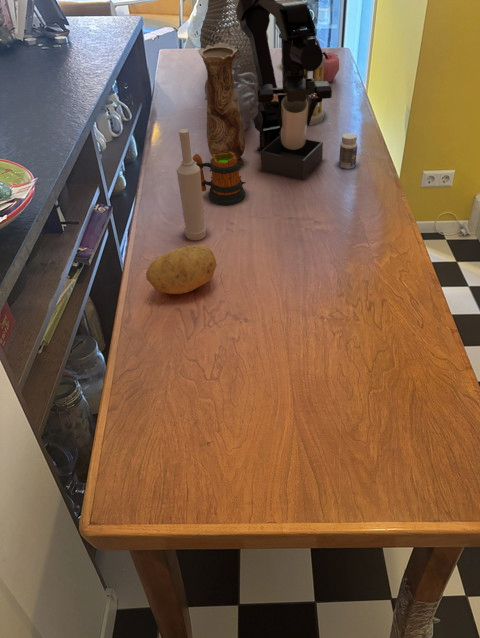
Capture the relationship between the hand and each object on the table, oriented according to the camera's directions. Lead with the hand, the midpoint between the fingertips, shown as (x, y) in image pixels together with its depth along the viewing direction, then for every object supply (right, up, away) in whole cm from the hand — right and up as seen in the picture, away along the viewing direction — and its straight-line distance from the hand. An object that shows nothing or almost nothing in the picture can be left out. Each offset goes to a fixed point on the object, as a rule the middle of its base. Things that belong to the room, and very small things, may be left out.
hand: (294, 126), depth 159 cm
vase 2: (-19, -6, +12) cm, 23 cm away
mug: (-19, -19, -1) cm, 27 cm away
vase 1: (-19, +31, +50) cm, 61 cm away
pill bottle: (+15, -7, +11) cm, 20 cm away
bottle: (-24, -32, -15) cm, 43 cm away
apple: (+13, +41, +60) cm, 74 cm away
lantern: (+3, +18, +36) cm, 40 cm away
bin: (0, -7, +11) cm, 13 cm away
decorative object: (-22, +52, +72) cm, 91 cm away
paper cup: (0, -1, +6) cm, 6 cm away
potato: (-24, -47, -30) cm, 61 cm away
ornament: (-17, +11, +30) cm, 36 cm away
